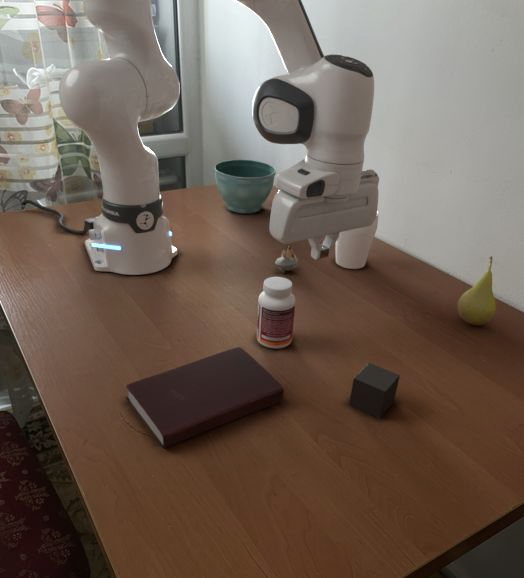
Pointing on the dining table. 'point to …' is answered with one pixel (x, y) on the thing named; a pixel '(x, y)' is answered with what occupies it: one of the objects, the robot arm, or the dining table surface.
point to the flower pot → (244, 184)
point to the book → (203, 395)
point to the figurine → (286, 261)
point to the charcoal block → (374, 390)
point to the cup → (355, 246)
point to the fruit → (478, 301)
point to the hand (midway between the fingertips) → (320, 257)
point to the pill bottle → (276, 313)
